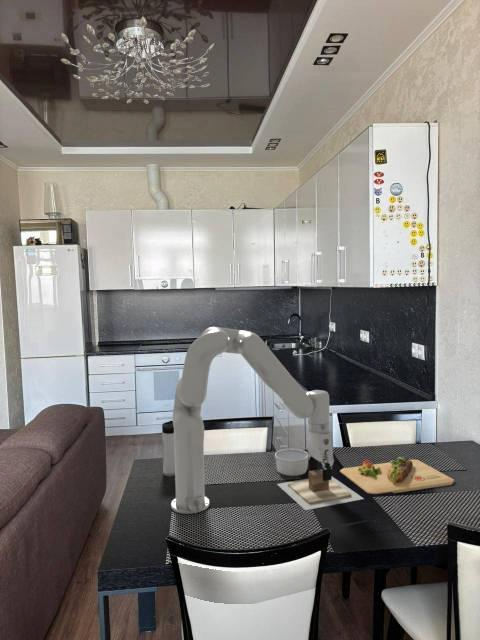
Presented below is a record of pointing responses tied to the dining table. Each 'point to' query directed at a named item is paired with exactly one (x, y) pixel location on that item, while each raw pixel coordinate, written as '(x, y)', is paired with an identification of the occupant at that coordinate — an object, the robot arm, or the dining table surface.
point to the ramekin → (291, 461)
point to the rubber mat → (322, 504)
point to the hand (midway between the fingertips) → (319, 475)
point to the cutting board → (396, 476)
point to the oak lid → (318, 489)
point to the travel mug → (168, 449)
